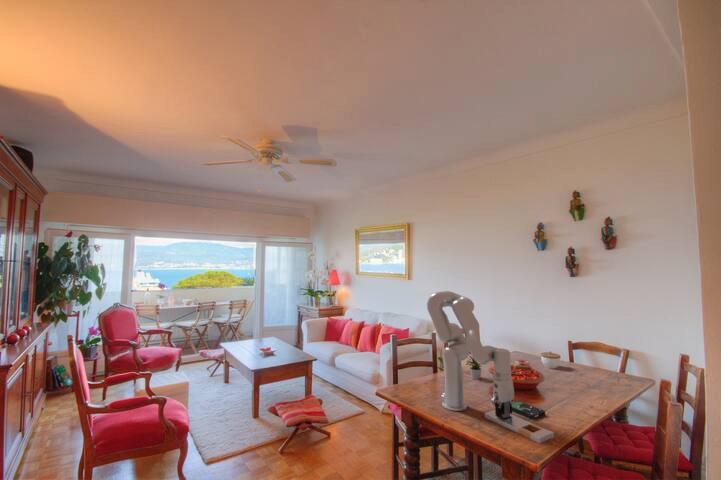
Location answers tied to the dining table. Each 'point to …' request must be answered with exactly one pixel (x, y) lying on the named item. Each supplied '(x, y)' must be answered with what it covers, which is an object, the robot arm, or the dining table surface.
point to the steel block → (505, 410)
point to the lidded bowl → (550, 360)
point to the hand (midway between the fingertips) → (503, 413)
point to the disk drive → (527, 410)
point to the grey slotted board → (522, 427)
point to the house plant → (474, 369)
